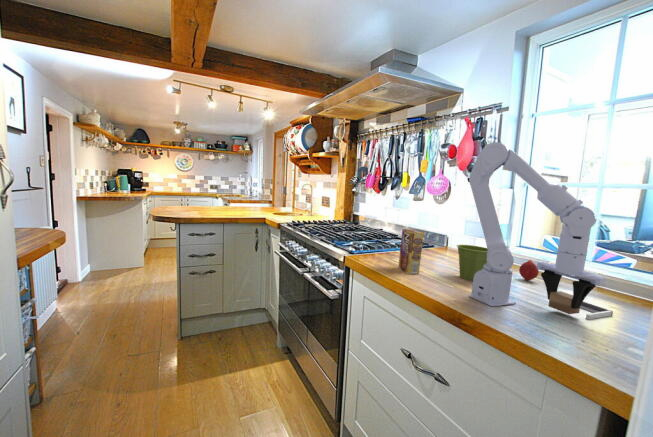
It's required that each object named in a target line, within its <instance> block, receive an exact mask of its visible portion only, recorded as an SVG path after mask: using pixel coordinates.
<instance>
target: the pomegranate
mask: <svg viewBox="0 0 653 437" xmlns="http://www.w3.org/2000/svg"><path fill="white" fill-rule="evenodd" d="M518 269H519V274H520V276H521V277H522V279H524V280H525V281H526V282H529V281H532V280H534V279H535V278H537V277H538V275H539V269H537V264H535V263H534V262H533V260H532V259H531V258H529V259H528V260H527V261H526V262H524V263H522V264H521V265H520V266H519V268H518Z"/></svg>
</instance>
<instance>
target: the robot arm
mask: <svg viewBox="0 0 653 437" xmlns="http://www.w3.org/2000/svg"><path fill="white" fill-rule="evenodd" d="M501 167H502V169H501V170H503V171H508V172H513V173H514V174H516V175H517V176H518V177H520V178H521V179H522V180H523V181H524V182H525V183H526V184H528V185H529V186H530V187H532V188H533V189H534V190H535V191H536V192H537V197H536V198H537V200H538V201H539V202H540V203H541V204H543V206H545V207H546V208H547V209H548V210H550V212H552V213H553V214H554V215H555V216H557V217H559V220H560V222H561V224H562V225H561V232H560V233H559V234H560V235H559V241H558V247H557V252H556V258H555V264H554V263H553V264H552V263H548V262H544V261H539V262H536V266H537V269H538V271H539V270H540V271H541V270H542V271H543V272H541V273H540V276H541V278H542V280H543V283H544V286H545V289H546V295H547V296H546V297H547V300H549V299H550V293H551V292H556V291H558V289H559V285H560V282H561V279H562V277H567V278H571V279H574V281H572V289H573V290H572V291H573V292H572V293H573V294H572V295H573V300H572V308H573V309H579V308H580V306H581V304H582V302H584V300H585V299H586V297H587V296H588V295H589V294H590V292H591V291H593V290H594V289H595V288H596V287H605V285H606V279H607V278H606V277H603V276H600V275H596V274H593V273H589V272H587V271H585V270H584V269H585V264H586V259H587V254H588V248H589V242H590V234H591V228H592V227H594V226H595V224H596V223H597V218H596V216H595V213H594V211H593V210H592V209H590V208H589V207H586V206H582V204H583V203H584V201H583V200H582V199H577V198H576V197H574V195H572V194H571V193H570V192H569V191H567V190H568V187H567V186H566V185H564V184H562V185H560V183H557V182H551V183H550V182H548V181H547V180H546V178H544V177H543V176H542V175H541V174H540V173H539V172H537V171H536V170H535V169H534V168H533V167H532V165H530V164H529V163H528V162H527V161H526V160H524V158H522V157H521V156H520V155H518V153H517V152H515V151H514V150H513V149H510V148H509V149H508V148H507V146H506V145H505V144H504V143H501V142H498V141H497V142H496V141H494V142H489V143H488V144H486V145H485V146H484V147H483V148H482V149H481V150H480V152H479V153H477V155H476V159H475V162H474V164H473V167H472V169H471V172H470V174H469V177H468V180H469V185H470V188H471V192H472V196H473V199H474V203H475V206H476V210H477V214H478V218H479V220H480V224H481V228H482V232H483V236H484V240H485V244H486V248H487V249H488V250H487V263H486V264H484V266H483V269H482V270H481V271H478V272H476V273H475V275H474V278H473V281H472V286H471V293H469V294H468V297H470V298H472V299H475V300H477V301H480V302H481V303H483V304H486V305H488V306H490V307H499V306H507V305H515V304H517V303H516V302H517V301H514V300H513V299H510V294H511V293H510V292H511V287H512V278H513V272H514V270H513V269H512V267H513V265H514V263H515V262H514V256H513V255H512V252H511V250H510V248H509V247H508V246H506V243H505V240H504V239H505V238H504V235H503V232H502V228H501V224H500V221H499V218H498V214H497V211H496V206H495V204H494V200H493V196H492V193H491V189H490V186H489V180H490V178H491V177H492V176H493V174H494V172H495V171H497V170H498V169H500V168H501Z"/></svg>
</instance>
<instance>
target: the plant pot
mask: <svg viewBox="0 0 653 437" xmlns="http://www.w3.org/2000/svg"><path fill="white" fill-rule="evenodd" d="M456 248H457V253H458V261H459V262H458V264H459V265H458V266H459V278H461V279H464V280H466V281H471V282H473V278H474V275H475V273H476V272H478V271H481V270H482V269H483V266H484V264H486V263H487V250H488V249H487V247H483V246H478V245H473V244H472V245H471V244H456Z"/></svg>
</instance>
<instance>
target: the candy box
mask: <svg viewBox="0 0 653 437" xmlns="http://www.w3.org/2000/svg"><path fill="white" fill-rule="evenodd" d="M424 234H425V233H424V232H422V231H418V230H415V229H412V228H402V232H401V239H400V249H399V250H400V251H399V257H398V258H399V259H398V265H397V267H398V269H400V270H401V271H404V272H405V273H407V274H409V275H419V274H420V267H421V261H422V260H421V259H422V251H423V241H424Z"/></svg>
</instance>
